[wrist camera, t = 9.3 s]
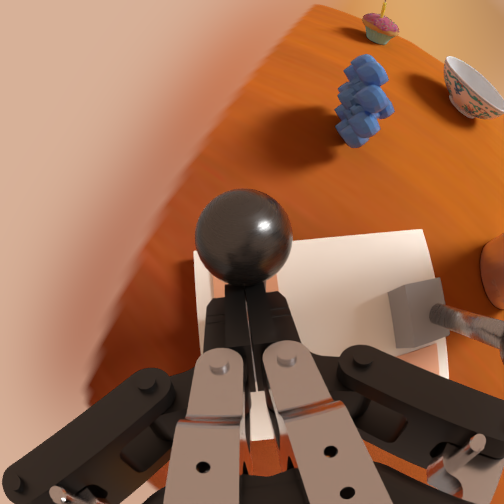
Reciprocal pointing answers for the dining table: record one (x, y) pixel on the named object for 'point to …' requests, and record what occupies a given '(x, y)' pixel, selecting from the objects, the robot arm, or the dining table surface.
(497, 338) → the lever
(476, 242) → the dining table surface
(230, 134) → the dining table surface
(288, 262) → the console
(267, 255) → the lever
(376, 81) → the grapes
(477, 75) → the chinaware
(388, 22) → the cupcake
